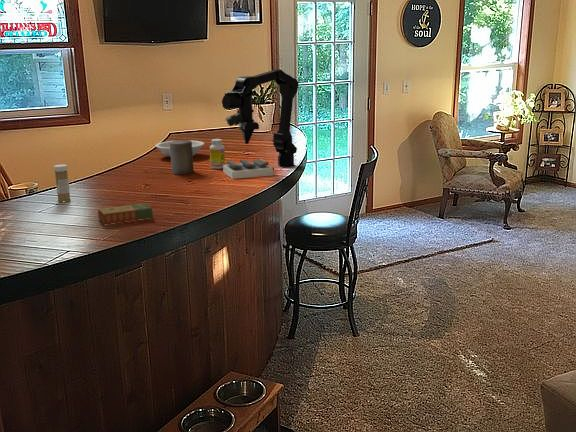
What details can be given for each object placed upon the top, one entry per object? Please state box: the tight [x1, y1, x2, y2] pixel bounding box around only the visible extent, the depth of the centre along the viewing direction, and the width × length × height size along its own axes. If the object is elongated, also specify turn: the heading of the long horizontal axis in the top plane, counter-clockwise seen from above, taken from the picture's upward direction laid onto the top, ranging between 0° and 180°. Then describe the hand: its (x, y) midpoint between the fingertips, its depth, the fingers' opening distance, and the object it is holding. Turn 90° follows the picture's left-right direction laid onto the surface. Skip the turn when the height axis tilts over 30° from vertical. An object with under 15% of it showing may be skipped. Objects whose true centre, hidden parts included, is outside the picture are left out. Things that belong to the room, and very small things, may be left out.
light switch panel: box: [222, 162, 275, 180], centre depth 277 cm, size 21×16×3 cm
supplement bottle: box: [209, 138, 226, 170], centre depth 288 cm, size 7×7×13 cm
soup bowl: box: [155, 139, 205, 158], centre depth 317 cm, size 24×24×7 cm
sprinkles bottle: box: [53, 164, 71, 203], centre depth 233 cm, size 5×5×13 cm
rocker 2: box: [239, 159, 256, 168], centre depth 276 cm, size 4×11×2 cm, turn 19°
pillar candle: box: [170, 139, 195, 176], centre depth 279 cm, size 10×10×15 cm
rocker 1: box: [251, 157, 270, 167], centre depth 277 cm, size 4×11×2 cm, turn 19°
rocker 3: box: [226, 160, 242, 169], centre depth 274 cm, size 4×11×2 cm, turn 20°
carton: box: [97, 202, 154, 225], centre depth 209 cm, size 8×16×4 cm, turn 119°
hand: (246, 143), depth 273 cm, fingers closed
